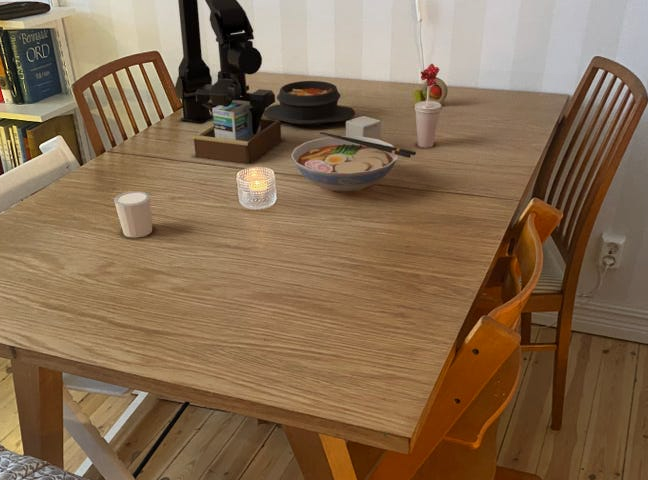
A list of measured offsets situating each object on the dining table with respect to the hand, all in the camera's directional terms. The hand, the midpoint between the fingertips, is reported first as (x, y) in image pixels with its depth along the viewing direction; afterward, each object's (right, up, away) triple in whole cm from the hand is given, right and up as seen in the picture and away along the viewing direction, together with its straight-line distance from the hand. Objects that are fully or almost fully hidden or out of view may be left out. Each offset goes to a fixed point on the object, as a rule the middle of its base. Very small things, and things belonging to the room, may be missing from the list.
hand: (238, 132), depth 180 cm
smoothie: (+46, -3, 0) cm, 46 cm away
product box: (+30, -5, -2) cm, 31 cm away
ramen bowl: (+25, -18, -20) cm, 37 cm away
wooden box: (0, -3, +2) cm, 4 cm away
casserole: (+18, +9, +19) cm, 27 cm away
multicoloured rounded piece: (+52, +16, +27) cm, 60 cm away
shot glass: (-17, -31, -35) cm, 49 cm away
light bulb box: (0, -3, +2) cm, 4 cm away
